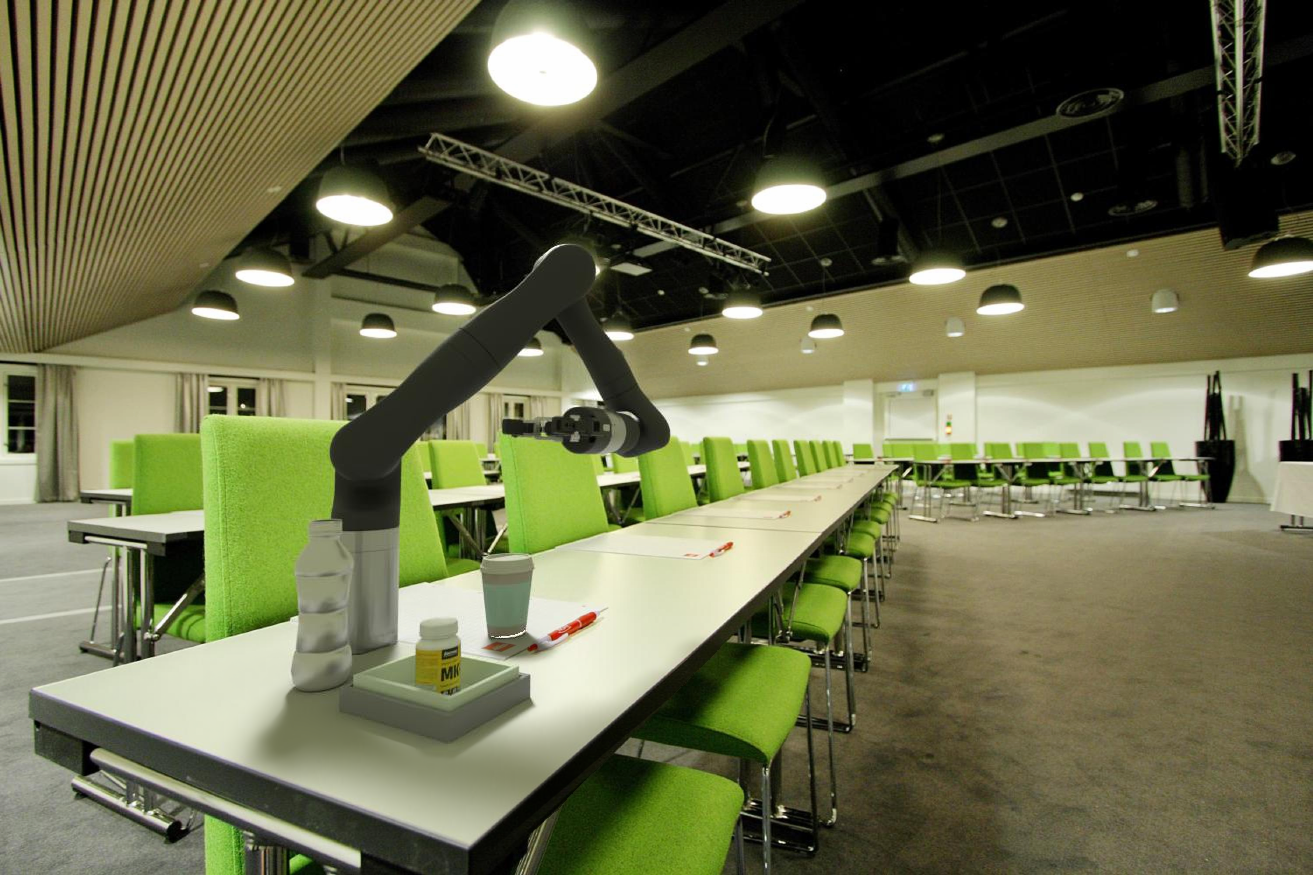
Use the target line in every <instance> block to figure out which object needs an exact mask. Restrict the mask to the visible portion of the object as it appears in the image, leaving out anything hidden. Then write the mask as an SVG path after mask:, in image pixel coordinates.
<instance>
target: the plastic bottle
mask: <svg viewBox="0 0 1313 875" xmlns="http://www.w3.org/2000/svg"><path fill="white" fill-rule="evenodd" d="M340 535H343V530H342V519H331V518H322V519H312V520H309V521H308V531H307V535H306V536H307V537H308V538H309V541H308V542H307V544H306V545H305V546H304V547H303V549H301V551H300V553H299V555H298V556H297V557H296V560H295V563H294V566H293V567H294V568H293V569H294V575H295V576H294V580H295V584H296V585H295V587H296V595H297V610H298V615H297V616H298V617H297V618H298V620H297V621H298V622H297V623H298V625H297V633H296V642H295V650H294V652H293V657H292V662H291V667H290V673H291V680H292V681H291V682H292V684H293V685H294V686H295V688H296V689H297V690H298V691H302V692H306V693H309V692H321V691H327V690H329V689H333V688H336V687H340V686H342V685H343V684H344V683H345V682H346V681H347V680H348V678H349V676H350V675H351V671H352V665H353V654H352V651H351V646H350V643H349V630H348V605H349V592H350V586H351V580H352V574H353V568H354V560H353V557H352V554H351V553H350V551H349V550H348V548H347V547H346V546H345V544H344V543H343V542H342V541H341V538H340Z"/></svg>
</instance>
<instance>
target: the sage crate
mask: <svg viewBox="0 0 1313 875" xmlns="http://www.w3.org/2000/svg"><path fill="white" fill-rule="evenodd" d="M415 653H416V652H413V653H411V654H408V655H404V656H401V657H400V658H396V659H393V660H391V661H388V662H386V663H383V664H380V665H378V666H373V667H371V668H370V669H366V670H363V671H361V672H358V673H355V674H353V676H352V678H353V679H352V682H353V687H355V688H359V689H363V690H367V691H370V692H374V693H378V694H382V695H385V696H389V697H393V698H397V699H400V700H404V701H408V702H412V703H416V704H419V705H423V706H427V707H431V708H434V709H438V710H442V711H446V712H449V713H450V712H452V711H453V710H455V709H457V708H459V707H461V706H463V705H465V704H467V703H469V702H471V701H473V700H475V699H477V698H479V697H481V696H483V695H485V694H487V693H489V692H491V691H493V690H495V689H497V688H499V687H501V686H503V685H505V684H507V683H509V682H511V681H513V680H515V679H517V678H519V672H520V665H516V664H512V663H508V662H507V663H506V662H500V661H496V660H492V659H488V658H487V659H486V658H481V657H477V656H471V655H467V654H463V653H461V673H460V691H459V692H457V693H455V694H453V695H451V696H449V695H445V694H441V693H437V692H433V691H428V690H424V689H420V688H416V687H415V656H416V654H415Z"/></svg>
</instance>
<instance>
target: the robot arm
mask: <svg viewBox="0 0 1313 875" xmlns="http://www.w3.org/2000/svg"><path fill="white" fill-rule="evenodd" d="M596 275H597V268H596V262H595V259H594V257H593V255H592V254H591V253H590V251H588V250H587V249H586V248H584V247H583V246H581V245H577V244H574V243H573V244H572V243H563V244H559V245H558V244H557V245H556V246H554V247H551V248H550V249H549V250H548V251H547V252H545V253H544V254H542V255H541V256H540V257H539V258H538V259H537V260H536V261H535V263H534V265H533V268H532V271H531V272H530V273H529V274H528V275H527V277H525V278H524V279H523V281H521V282H520V283H519V284H518V285H517V286H516V287H515V288H514V289H512V290H510V292H508V293H507V294H505V296H504V295H503V297H501V298H499V299H498V300H496V301H495V302H493V303H491V304H490V305H489V306H487V307H486V308H483V309H482V310H481V311H480V312H478V313H476V314H475V315H473V317H471V318H470V319H468V320H467V321H465V322H464V323H463V324H461V325H460V326H459V327H458V328H457V329H456V330H454V332H452V333H451V334H450V335H449V336H448V337H446V338H445V339H444V340H443V341H442V342H441V343H440V344H439V345H438V346H437V347H436V348H435V349H433V351H431V353H429V354H428V355H427V356H426V357H425V358H424V359H423V360H422V361H421V362H420V363H419V364H418V365H417V366H416V367H415V368H414V370H413V371H412V372H411V373H410V374H408V376H407V377H406V378H405V379H404V380H403V381H402V382H401V383H400V384H399V385H398V386H397V387H396V388H395V389H394V390H392V391H391V392H390V393H389V394H387V395H386V396H385V397H383V398H381V400H379V401H378V402H377V403H375V404H374V405H372V406H371V407H369V408H368V409H367V410H365V411H364V412H362V413H361V414H359V415H358V416H356V417H355V418H353V419H352V420H350V421H349V422H347V423H346V424H344V425H343V426H341V427H340V428H339V429H338V430H337V431H336V432H335V434H334V436H333V438H332V439H331V442H330V445H329V459H330V462H331V465H332V467H333V468H334V488H333V489H334V491H333V492H334V494H333V502H332V508H331V511H330V512H331V513H330V519H342V530H343V535H340V538H341V541H342V542H343V543H344V544H345V546H346V547H347V548H348V550H349V551H350V553H351V554H352V557H353V560H354V568H353V574H352V580H351V586H350V592H349V605H348V630H349V643H350V646H351V651H352V655H353V654H364V653H371V652H374V651H378V650H380V649H383V648H386V647H390V646H393V645H394V644H396V643H397V642H398V640H399V638H398V636H399V601H400V600H399V599H400V598H399V593H400V592H399V591H400V589H399V586H400V585H399V584H400V536H401V535H400V534H401V533H400V529H401V528H400V525H401V507H402V506H401V504H402V501H401V500H402V462H403V461H402V459H403V457H404V455H406V453H407V452H408V451H409V450H410V449H411V448H412V446H414V445H415V443H416V442H417V441H419V439H420V438H421V436H423V434H425V433H426V432H427V430H429V429H430V427H432V426H433V425H434V424H436V422H437V421H439V420H440V419H442V418H443V417H444V416H446V415H448V414H449V413H451V412H453V411H454V410H455V409H457V408H458V407H459V406H461V405H463V404H464V403H466V402H467V401H468V400H470V399H471V398H473V396H475V395H476V394H477V393H479V392H480V391H481V390H482V389H484V387H486V386H487V385H489V383H490V382H491V381H492V380H493V379H494V378H496V377H497V376H498V375H499V374H500V373H501V372H502V371H503V370H504V369H505V368H507V366H508V365H509V364H510V363H511V362H512V361H513V360H514V359H515V358H516V357H517V356H518V355H519V354H520V353H521V352H522V351H523V350H524V348H525V347H526V346H528V345H529V343H530V342H531V341H532V340H533V339H534V337H535V336H536V335H537V334H538V333H539V332H540V331H541V330H542V329H543V327H544V326H546V325H547V324H548V323H549V322H551V320H553V319H556V321H557V322H558V324H559V325H560V326H561V328H562V330H563V331H564V333H565V335H566V336H567V337H568V339H569V340H570V341H571V343H572V345H573V347H574V349H575V351H576V352H577V354H578V355H579V357H580V359H581V360H582V362H583V364H584V366H585V367H586V370H587V372H588V374H589V375H590V377H591V380H592V382H593V384H594V385H595V387H596V389H597V390H596V391H598V394H599V396H600V397H601V399H602V401H603V403H604V405H605V408H606V409H605V408H599V407H593V406H587V405H574V406H572V407H570V408H568V409H567V410H566V411H564V414H562V415H553V416H536V417H534V418H533V419H525V418H520V419H516V418H503V419H502V420H501V433H502V434H503V435H504V436H505V435H506V436H511V437H512V438H514V439H515V438H516V439H517V438H531V439H533V440H534V441H551V442H553V443H561V445H562V446H563V447H564V449H566V451H567V452H569V453H572V454H575V455H606V454H616V455H618V456H620V457H622V458H625V459H631V458H636V457H639V456H643V455H645V454H648V453H651V452H654V451H657V450H660V449H663V448H666V446H667V445H668V444H669V442H670V439H671V428H670V425H669V423H668V421H667V419H666V417H665V416H664V415H663V414H662V412H661V411H660V410H659V408H657V407H656V406H655V405H654V403H653V402H652V401H651V400H650V399H649V398H648V397H647V395H646V394H645V393H644V392H643V390H642V389H641V387H640V386H639V383H638V381H637V379H636V377H635V375H634V373H633V371H632V369H631V367H630V365H629V363H628V362H627V359H626V358H625V357H624V355H623V353H622V352H621V351H620V349H619V348H618V347H617V345H616V344H615V343H614V341H613V340H612V339H611V337H610V336H608V334H607V333H606V332H605V331H604V329H603V328H602V327H601V325H600V324H599V322H598V321H597V319H596V317H595V315H594V314H593V311H592V310H591V308H590V307H591V306H590V305H589V303H588V299H587V296H586V295H587V294H588V293H589V292H590V291H591V289H592V287H593V286H594V283H595V281H596V277H597V276H596ZM624 412H626V413H630V414H632V415H633V416H634V417H633V416H631V415H629V414H626V413H624ZM542 422H545V423H544V426H542ZM542 434H544V435H545V436H542Z"/></svg>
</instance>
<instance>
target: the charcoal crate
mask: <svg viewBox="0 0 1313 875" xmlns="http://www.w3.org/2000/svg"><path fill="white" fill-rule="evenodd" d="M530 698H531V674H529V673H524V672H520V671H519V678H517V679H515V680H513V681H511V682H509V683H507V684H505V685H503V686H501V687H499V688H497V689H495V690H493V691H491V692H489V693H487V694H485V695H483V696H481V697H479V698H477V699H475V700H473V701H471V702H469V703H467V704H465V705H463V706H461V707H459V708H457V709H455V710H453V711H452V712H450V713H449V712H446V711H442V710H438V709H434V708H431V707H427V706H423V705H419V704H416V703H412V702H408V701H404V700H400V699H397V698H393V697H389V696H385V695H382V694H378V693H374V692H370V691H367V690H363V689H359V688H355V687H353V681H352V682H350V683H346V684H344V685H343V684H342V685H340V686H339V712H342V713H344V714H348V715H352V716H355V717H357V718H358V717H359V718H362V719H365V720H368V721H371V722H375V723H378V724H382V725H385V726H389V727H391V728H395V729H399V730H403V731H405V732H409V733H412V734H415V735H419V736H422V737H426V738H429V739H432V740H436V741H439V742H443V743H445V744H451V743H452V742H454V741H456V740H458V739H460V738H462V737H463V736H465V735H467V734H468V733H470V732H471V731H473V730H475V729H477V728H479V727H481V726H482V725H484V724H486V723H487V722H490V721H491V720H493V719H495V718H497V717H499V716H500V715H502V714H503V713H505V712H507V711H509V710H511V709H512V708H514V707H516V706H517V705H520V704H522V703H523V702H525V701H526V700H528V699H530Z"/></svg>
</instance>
